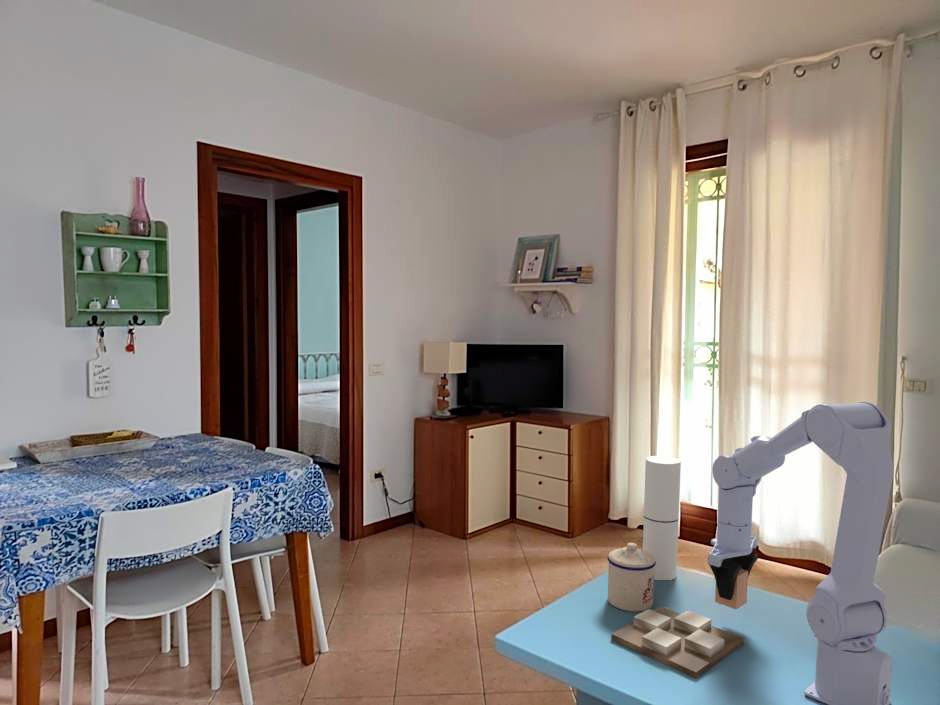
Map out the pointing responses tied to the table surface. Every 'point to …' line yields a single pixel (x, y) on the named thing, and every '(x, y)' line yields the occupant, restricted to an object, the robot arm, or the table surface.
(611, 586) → the teacup with lid
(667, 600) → the table surface
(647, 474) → the cylindrical container
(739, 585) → the terracotta block
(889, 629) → the table surface
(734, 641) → the walnut board
